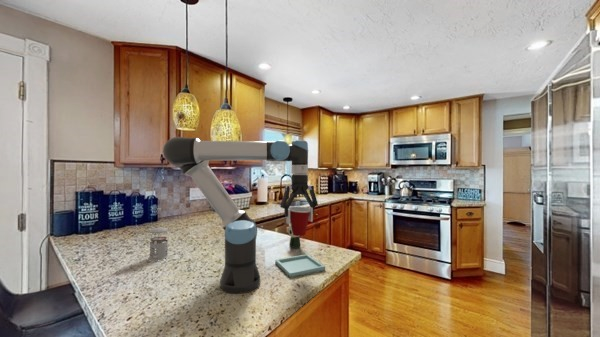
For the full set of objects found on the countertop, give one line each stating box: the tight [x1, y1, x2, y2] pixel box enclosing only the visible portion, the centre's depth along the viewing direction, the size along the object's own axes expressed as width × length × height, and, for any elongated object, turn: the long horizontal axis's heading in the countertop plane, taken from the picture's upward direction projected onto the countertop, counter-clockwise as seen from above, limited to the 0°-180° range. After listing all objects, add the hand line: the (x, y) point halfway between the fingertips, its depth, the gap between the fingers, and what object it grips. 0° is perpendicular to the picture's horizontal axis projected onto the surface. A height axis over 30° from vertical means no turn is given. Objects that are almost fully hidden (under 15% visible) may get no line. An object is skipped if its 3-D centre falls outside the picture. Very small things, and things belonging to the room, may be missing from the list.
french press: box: [147, 207, 170, 262], centre depth 122 cm, size 10×12×25 cm
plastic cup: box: [289, 206, 311, 237], centre depth 111 cm, size 11×11×12 cm
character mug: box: [286, 223, 301, 249], centre depth 139 cm, size 11×7×13 cm, turn 66°
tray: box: [274, 253, 326, 279], centre depth 111 cm, size 17×17×2 cm
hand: (299, 222), depth 111 cm, fingers closed on plastic cup, 11 cm apart
